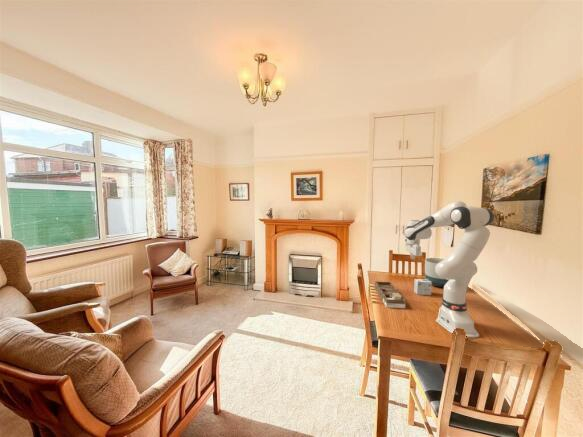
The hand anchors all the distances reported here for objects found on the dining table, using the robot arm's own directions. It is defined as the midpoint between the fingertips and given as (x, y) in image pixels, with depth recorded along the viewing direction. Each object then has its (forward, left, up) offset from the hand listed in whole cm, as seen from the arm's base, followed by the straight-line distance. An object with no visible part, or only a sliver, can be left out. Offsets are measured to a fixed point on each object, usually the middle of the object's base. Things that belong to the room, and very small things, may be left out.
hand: (412, 259), depth 178 cm
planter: (+24, -30, -29) cm, 49 cm away
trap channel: (-5, +18, -29) cm, 35 cm away
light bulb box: (+5, -10, -29) cm, 32 cm away
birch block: (-17, +16, -26) cm, 35 cm away
